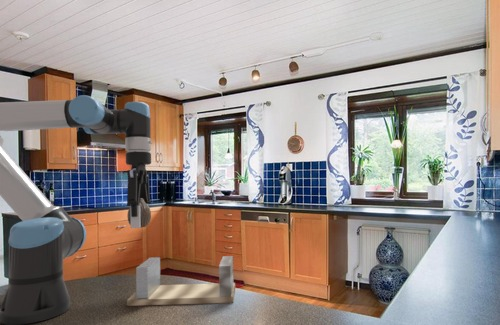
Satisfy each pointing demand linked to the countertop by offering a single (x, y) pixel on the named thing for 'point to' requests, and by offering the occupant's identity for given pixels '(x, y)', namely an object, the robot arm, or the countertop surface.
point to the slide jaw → (148, 277)
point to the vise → (193, 290)
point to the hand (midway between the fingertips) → (139, 225)
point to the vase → (142, 213)
